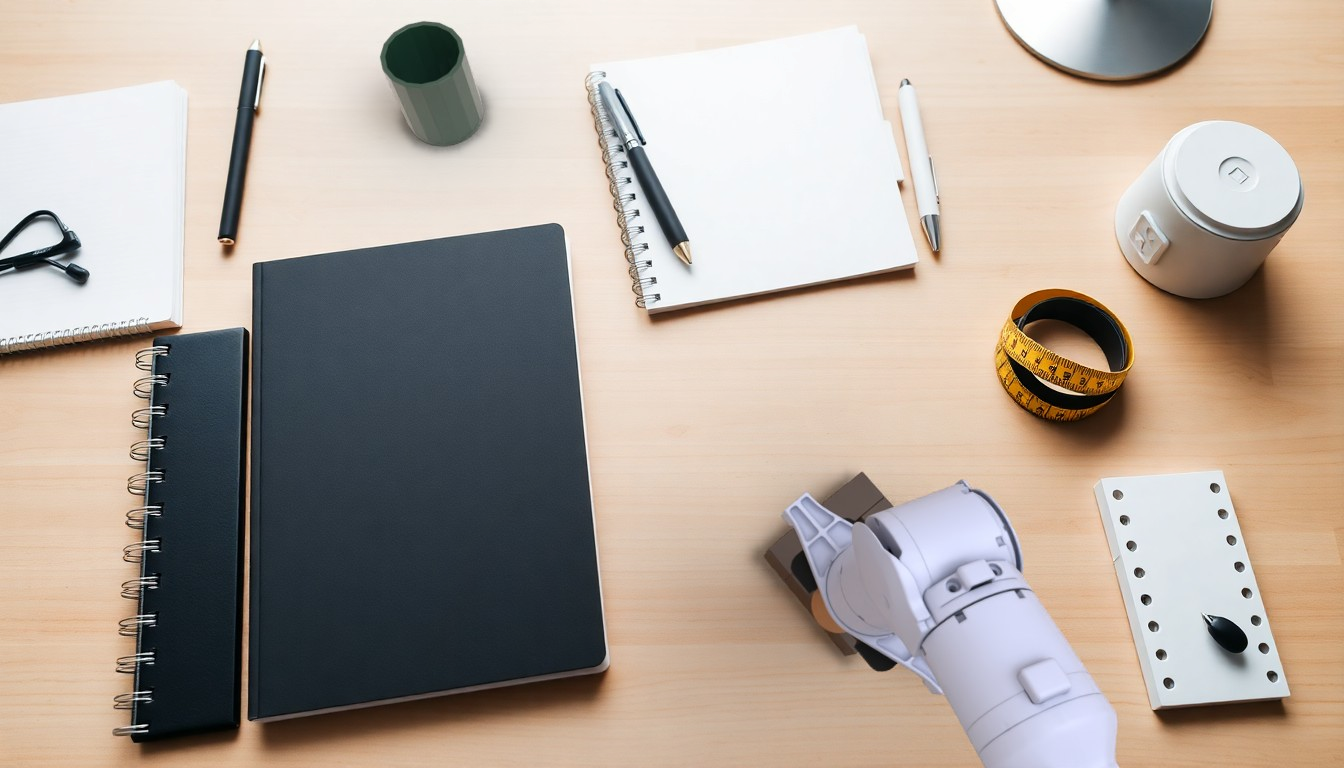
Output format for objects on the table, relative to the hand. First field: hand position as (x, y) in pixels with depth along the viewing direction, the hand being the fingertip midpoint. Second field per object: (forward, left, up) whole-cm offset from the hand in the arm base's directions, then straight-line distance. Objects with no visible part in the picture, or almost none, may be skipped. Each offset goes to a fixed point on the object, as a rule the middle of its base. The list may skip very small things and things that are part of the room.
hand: (843, 603), depth 61 cm
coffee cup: (+63, -3, -10) cm, 64 cm away
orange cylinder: (0, 0, -2) cm, 2 cm away
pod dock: (+1, -5, -10) cm, 11 cm away
